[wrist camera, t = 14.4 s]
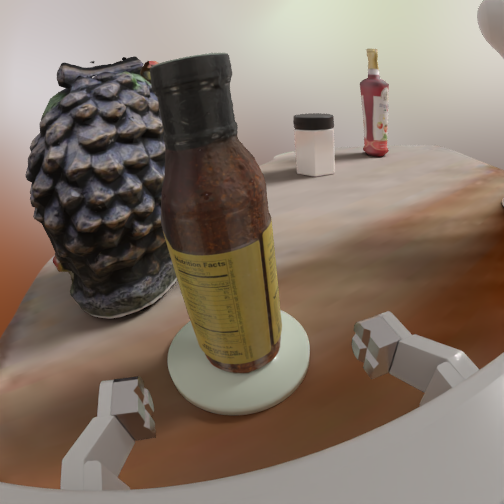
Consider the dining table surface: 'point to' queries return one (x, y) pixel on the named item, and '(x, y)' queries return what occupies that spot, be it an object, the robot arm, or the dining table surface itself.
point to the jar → (314, 144)
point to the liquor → (374, 108)
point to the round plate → (239, 384)
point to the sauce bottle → (216, 216)
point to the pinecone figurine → (104, 186)
